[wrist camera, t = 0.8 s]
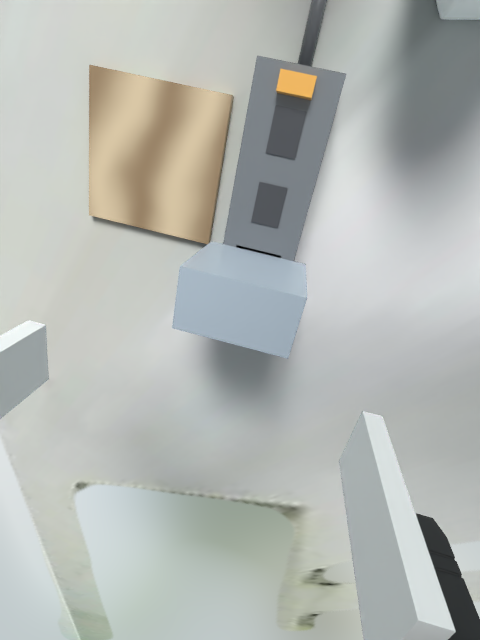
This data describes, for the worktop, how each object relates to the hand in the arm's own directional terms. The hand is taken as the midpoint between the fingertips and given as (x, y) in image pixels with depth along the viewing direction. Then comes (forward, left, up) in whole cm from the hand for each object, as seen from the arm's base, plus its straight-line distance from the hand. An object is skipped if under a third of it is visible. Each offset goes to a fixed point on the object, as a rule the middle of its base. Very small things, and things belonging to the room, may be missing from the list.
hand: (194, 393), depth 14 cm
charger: (0, 0, -19) cm, 19 cm away
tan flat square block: (+11, -7, -21) cm, 24 cm away
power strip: (0, -9, -21) cm, 22 cm away
